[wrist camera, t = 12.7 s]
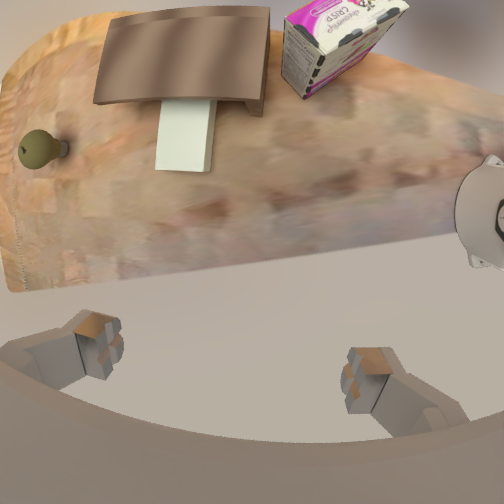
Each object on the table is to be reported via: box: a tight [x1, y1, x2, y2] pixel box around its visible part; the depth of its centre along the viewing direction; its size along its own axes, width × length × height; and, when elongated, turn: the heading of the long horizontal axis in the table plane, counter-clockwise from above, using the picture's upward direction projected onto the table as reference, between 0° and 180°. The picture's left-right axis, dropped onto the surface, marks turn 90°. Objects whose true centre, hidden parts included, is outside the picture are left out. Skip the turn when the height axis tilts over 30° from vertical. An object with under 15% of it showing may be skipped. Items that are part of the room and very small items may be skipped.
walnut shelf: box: [93, 6, 270, 117], centre depth 27 cm, size 18×11×10 cm, turn 84°
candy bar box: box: [281, 0, 409, 100], centre depth 23 cm, size 11×5×16 cm, turn 131°
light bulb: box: [18, 130, 68, 169], centre depth 31 cm, size 6×6×10 cm
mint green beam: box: [155, 100, 217, 172], centre depth 32 cm, size 6×16×4 cm, turn 174°
